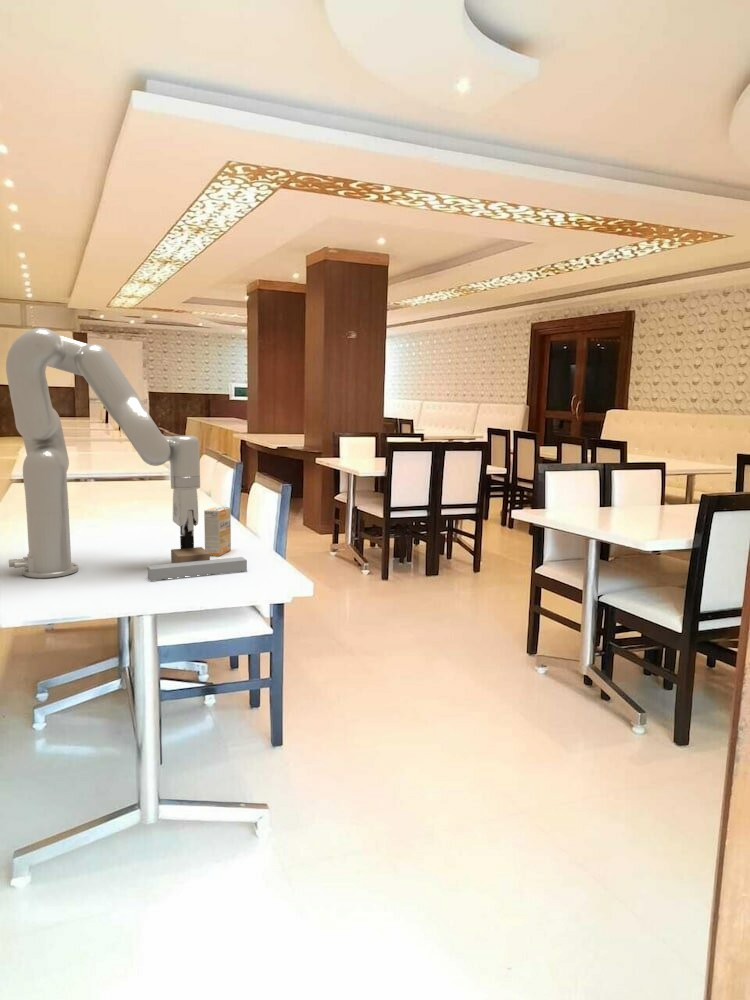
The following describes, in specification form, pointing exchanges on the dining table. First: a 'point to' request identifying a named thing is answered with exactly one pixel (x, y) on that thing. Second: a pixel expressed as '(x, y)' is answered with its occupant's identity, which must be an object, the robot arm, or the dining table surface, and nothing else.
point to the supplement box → (217, 530)
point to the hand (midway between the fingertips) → (187, 550)
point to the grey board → (197, 568)
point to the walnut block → (189, 555)
